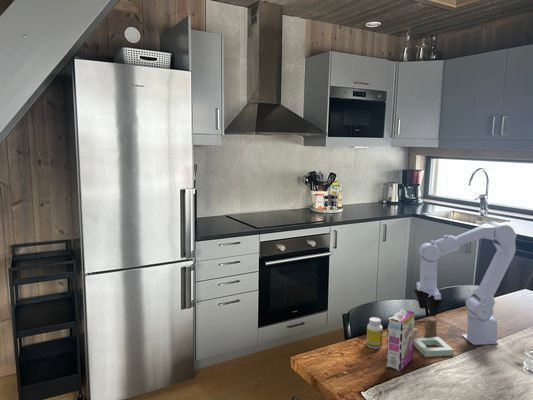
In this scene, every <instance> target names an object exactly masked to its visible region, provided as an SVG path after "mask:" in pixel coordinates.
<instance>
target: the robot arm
mask: <svg viewBox="0 0 533 400" xmlns="http://www.w3.org/2000/svg"><path fill="white" fill-rule="evenodd" d="M517 237H518V235H517V233H516V232H515V229H514V228H513V227H512V226H510V225H508V224H504V223H501V222H498V221H497V220H496V221H493V220H492V221H489V222H487V223H483V224H481V225H479V226H477V227H475V228H472V229H470V230H468V231H466V232H463V233H461V234H458V235H456V236H453V235H448V234H445V235H443V237H442V238H439V239H436V240H434V239H433V240H430V242H424V243H422V244H421V245H420V246H419V248H418V249H417V250H418V251H417V252H418V254H419V256H420V264H419V266H420V267H419V281H417V282H416V288H414V289H413V291H414V293H415V296H416V297H417V301H418V306H419V309H426V308H427V307H428V314H429V316H430V317H437V314H438V311H439V308H440V307H441V306H440V305H441V304H442V303H443V301H444V298H443V297H442V294H441V293H440V291H439V290H438V288H437V286H438V285H437V284H438V282H437V281H438V260H439V258H440V257H442V256H445V255H447V254H450V253H453V252H455V251H458V250H459V247H460V246H462V245H464V244H467V243H471V242H474V241H478V240H480V239H486V240H491V241H492V243H493V245H494V247H495V248H496V252H494V253H495V254H494V255H493V258H492V259H491V262H490V264H489V266H488V268H487V270H486V272H485V274H484V275H483V278H482V280H481V282H480V284H479V285H478V287H477V288H476V289H474V290H473V291H472V293H471V294H470V295H469V296H468V297H466V299H465V304H464V305H465V307H466V308H467V310H468V312H467V317H466V322H467V323H466V333H462V334H461V336H462V337H463V338H464V339H465V340H466V341H468V342H469V343H471V344H472V345H473V346H474V345H475V346H481V345H482V346H483V345H495V344H499V342H498V321H497V320H496V318H495V317H494V316H493V314H494V306H495V305H496V300H495V294H496V292H497V290H498V288H499V286H500V284H501V282H502V280H503V278H504V277H505V274H506V272H507V270H508V268H509V266H510V265H511V262H512V260H513V258H514V256H515V253H516V249H517V248H516V238H517ZM429 295H430V296H429ZM427 305H428V306H427Z"/></svg>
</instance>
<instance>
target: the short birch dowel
mask: <svg viewBox="0 0 533 400" xmlns="http://www.w3.org/2000/svg"><path fill="white" fill-rule="evenodd" d="M418 331H419V330H418V329H417V328H415V329H414V334H413V338H419V337H418V336H419V335H418Z"/></svg>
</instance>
